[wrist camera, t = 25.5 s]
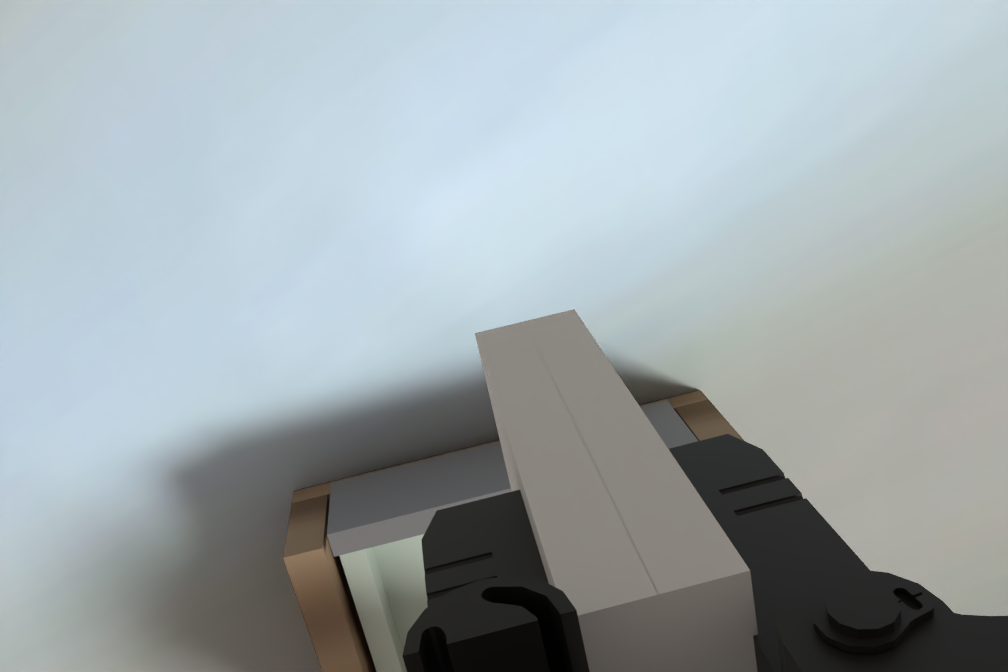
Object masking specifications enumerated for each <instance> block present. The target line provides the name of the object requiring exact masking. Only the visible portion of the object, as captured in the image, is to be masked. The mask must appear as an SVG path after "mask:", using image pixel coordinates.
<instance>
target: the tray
mask: <svg viewBox="0 0 1008 672" xmlns="http://www.w3.org/2000/svg"><path fill="white" fill-rule="evenodd" d="M640 408H641V409H642V411H643V412H644V414H645V415H646V417H647V418H648V420H649V421H650V422H651V424H652V425H653V427H654V428H655V430H656V431H657V433H658V434H659V436H660V437H661V439H662V440H663V442H664V443H665V445H666V446H667V448H668V449H670V448H673V447H677V446H681V445H685V444H689V443H693V442H697V441H698V440H697V439H696V437H695V436H694V435H693V433H692V432H691V431H690V430H689V428H688V427H687V426H686V424H685V423H684V422H683V420H682V419H681V418H680V416H679V415H678V414H677V412H676V411H675V410H674V409H673V407H672V406H671V405H670V403H669V402H668V401H667V400H664V401H660V402H656V403H652V404H648V405H644V406H640ZM508 492H512V491H511V486H510V482H509V478H508V473H507V469H506V465H505V460H504V456H503V452H502V448H501V443H500V441H499V442H495V443H491V444H487V445H483V446H479V447H475V448H471V449H467V450H463V451H459V452H455V453H451V454H447V455H443V456H439V457H435V458H431V459H427V460H423V461H419V462H415V463H411V464H407V465H403V466H399V467H395V468H391V469H387V470H383V471H378V472H374V473H370V474H366V475H362V476H358V477H354V478H350V479H346V480H342V481H338V482H334V483H331V492H330V503H329V515H328V527H327V537H328V540H329V543H330V546H331V549H332V552H333V555H334V557H336V556H340V559H341V562H342V566H343V569H344V572H345V575H346V578H347V581H348V584H349V587H350V590H351V594H352V597H353V600H354V603H355V606H356V609H357V612H358V615H359V618H360V622H361V625H362V628H363V631H364V634H365V637H366V640H367V643H368V647H369V650H370V653H371V656H372V659H373V662H374V665H375V668H376V671H377V672H407V670H406V666H405V663H404V660H403V657H402V655H403V651H404V646H405V642H406V637H407V633H408V631H409V630H410V628H411V627H412V626H413V624H414V623H415V622H416V620H417V619H418V618H419V616H420V615H421V614H422V612H423V611H424V610H425V609H426V608H427V607H428V606H427V600H428V599H427V594H426V585H425V571H424V563H423V552H422V542H421V540H422V538H423V536H424V534H425V532H426V530H427V528H428V526H429V524H430V522H431V520H432V518H433V517H434V515H435V513H436V511H437V510H441V509H445V508H449V507H453V506H457V505H461V504H465V503H469V502H473V501H477V500H481V499H485V498H489V497H492V496H496V495H500V494H504V493H508Z"/></svg>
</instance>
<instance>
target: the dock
mask: <svg viewBox="0 0 1008 672" xmlns="http://www.w3.org/2000/svg"><path fill="white" fill-rule="evenodd" d="M664 400H667V401H668V402H669V403H670V405H671V406H672V407H673V409H674V410H675V411H676V412H677V414H678V415H679V416H680V418H681V419H682V420H683V422H684V423H685V424H686V426H687V427H688V428H689V430H690V431H691V432H692V433H693V435H694V436H695V437H696V439H697V440H698V441H701V440H705V439H709V438H713V437H717V436H721V435H725V434H730V435H732V436H734V437H736V438H738V439H741V440H743V439H742V438H741V436H740V435H739V434H738V433H737V432H736V431H735V429H734V428H733V427H732V426H731V425H730V424H729V423H728V421H727V420H726V419H725V418H724V417H723V416H722V415H721V413H720V412H719V411H718V410H717V409H716V408H715V407H714V405H713V404H712V403H711V402H710V401H709V400H708V398H707V397H706V396H705V395H704V394H703V393H702V392H701V390H699V391H695V392H691V393H687V394H683V395H679V396H675V397H671V398H667V399H663V400H659V401H655V402H651V403H647V404H643V405H639V406H644V405H648V404H652V403H656V402H660V401H664ZM499 441H500V440H498V441H494V442H490V443H486V444H482V445H478V446H473V447H469V448H465V449H461V450H457V451H453V452H449V453H445V454H441V455H437V456H433V457H429V458H425V459H421V460H417V461H413V462H409V463H405V464H401V465H397V466H393V467H389V468H385V469H381V470H377V471H373V472H369V473H365V474H361V475H357V476H353V477H349V478H345V479H341V480H337V481H333V482H329V483H325V484H321V485H316V486H312V487H308V488H304V489H300V490H296V491H294V493H293V499H292V506H291V512H290V518H289V524H288V530H287V536H286V543H285V549H284V555H283V560H284V562H285V565H286V568H287V571H288V574H289V577H290V580H291V582H292V585H293V588H294V591H295V594H296V597H297V600H298V603H299V605H300V608H301V611H302V614H303V617H304V620H305V623H306V625H307V628H308V631H309V634H310V637H311V640H312V643H313V646H314V648H315V651H316V654H317V657H318V660H319V663H320V666H321V668H322V671H323V672H377V671H376V668H375V665H374V662H373V659H372V656H371V653H370V650H369V647H368V643H367V640H366V637H365V634H364V631H363V628H362V625H361V622H360V618H359V615H358V612H357V609H356V606H355V603H354V600H353V597H352V594H351V590H350V587H349V584H348V581H347V578H346V575H345V572H344V569H343V566H342V562H341V559H340V556H336V557H334V555H333V552H332V549H331V546H330V543H329V540H328V537H327V527H328V515H329V503H330V492H331V483H334V482H338V481H342V480H346V479H350V478H354V477H358V476H362V475H366V474H370V473H374V472H378V471H383V470H387V469H391V468H395V467H399V466H403V465H407V464H411V463H415V462H419V461H423V460H427V459H431V458H435V457H439V456H443V455H447V454H451V453H455V452H459V451H463V450H467V449H471V448H475V447H479V446H483V445H487V444H491V443H495V442H499ZM743 441H744V440H743Z"/></svg>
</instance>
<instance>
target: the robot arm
mask: <svg viewBox="0 0 1008 672" xmlns="http://www.w3.org/2000/svg"><path fill="white" fill-rule="evenodd" d="M475 336H476V340H477V344H478V348H479V353H480V357H481V361H482V366H483V370H484V374H485V379H486V383H487V387H488V392H489V396H490V400H491V404H492V409H493V413H494V417H495V422H496V426H497V430H498V435H499V439H500V443H501V448H502V452H503V456H504V460H505V465H506V469H507V473H508V478H509V482H510V486H511V491H512V492H508V493H504V494H500V495H496V496H492V497H489V498H485V499H481V500H477V501H473V502H469V503H465V504H461V505H457V506H453V507H449V508H445V509H441V510H437V511H436V513H435V515H434V517H433V518H432V520H431V522H430V524H429V526H428V528H427V530H426V532H425V534H424V536H423V538H422V540H421V542H422V552H423V563H424V571H425V585H426V594H427V599H428V600H427V606H428V607H427V608H426V609H425V610H424V611H423V612H422V614H421V615H420V616H419V618H418V619H417V620H416V622H415V623H414V624H413V626H412V627H411V628H410V630H409V631H408V633H407V637H406V642H405V646H404V651H403V655H402V657H403V660H404V663H405V666H406V670H407V672H1008V616H975V615H961V614H956V613H953V612H952V610H951V609H950V608H949V607H948V606H947V605H946V604H945V603H944V602H943V601H942V600H940V599H939V598H937V597H936V596H935V595H933V594H932V593H931V592H929V591H928V590H926V589H925V588H924V587H922V586H921V585H920V584H918V583H915V582H912V581H909V580H907V579H904V578H901V577H898V576H896V575H893V574H890V573H885V572H876V571H870V570H869V569H868V568H867V567H866V565H865V564H864V563H863V562H862V561H861V560H860V559H859V558H858V556H857V555H856V554H855V553H854V552H853V551H852V550H851V549H850V547H849V546H848V545H847V544H846V543H845V542H844V541H843V540H842V538H841V537H840V536H839V535H838V534H837V533H836V532H835V530H834V529H833V528H832V527H831V526H830V525H829V524H828V523H827V521H826V520H825V519H824V518H823V517H822V516H821V515H820V514H819V512H818V511H817V510H816V509H815V508H814V507H813V506H812V505H811V503H810V502H809V501H808V500H807V499H803V497H802V494H801V492H800V491H799V490H798V489H797V488H796V487H795V485H794V484H793V483H792V482H791V481H790V480H789V479H788V478H786V479H785V476H784V473H783V472H782V471H781V470H780V469H779V467H778V466H777V465H776V464H775V463H774V462H773V461H772V460H771V458H770V457H769V456H768V455H767V454H766V453H765V452H764V451H763V450H762V449H760V448H758V447H756V446H754V445H752V444H749V443H747V442H745V441H743V440H741V439H738V438H736V437H734V436H732V435H730V434H725V435H721V436H717V437H713V438H709V439H705V440H701V441H697V442H693V443H689V444H685V445H681V446H677V447H673V448H670V449H668V448H667V446H666V445H665V443H664V442H663V440H662V439H661V437H660V436H659V434H658V433H657V431H656V430H655V428H654V427H653V425H652V424H651V422H650V421H649V420H648V418H647V417H646V415H645V414H644V412H643V411H642V409H641V408H640V406H639V405H638V403H637V402H636V400H635V399H634V397H633V396H632V394H631V393H630V391H629V390H628V388H627V387H626V385H625V384H624V382H623V381H622V379H621V378H620V377H619V375H618V374H617V372H616V371H615V369H614V368H613V366H612V365H611V363H610V362H609V360H608V359H607V357H606V356H605V354H604V353H603V351H602V350H601V348H600V347H599V345H598V344H597V342H596V341H595V339H594V338H593V336H592V335H591V333H590V332H589V331H588V329H587V328H586V326H585V325H584V323H583V322H582V320H581V319H580V317H579V316H578V314H577V313H576V311H575V310H570V311H566V312H561V313H557V314H553V315H549V316H545V317H541V318H537V319H533V320H528V321H524V322H520V323H516V324H512V325H508V326H504V327H500V328H495V329H491V330H487V331H483V332H479V333H475Z"/></svg>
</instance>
